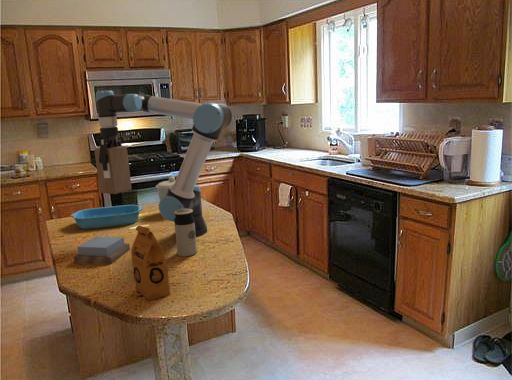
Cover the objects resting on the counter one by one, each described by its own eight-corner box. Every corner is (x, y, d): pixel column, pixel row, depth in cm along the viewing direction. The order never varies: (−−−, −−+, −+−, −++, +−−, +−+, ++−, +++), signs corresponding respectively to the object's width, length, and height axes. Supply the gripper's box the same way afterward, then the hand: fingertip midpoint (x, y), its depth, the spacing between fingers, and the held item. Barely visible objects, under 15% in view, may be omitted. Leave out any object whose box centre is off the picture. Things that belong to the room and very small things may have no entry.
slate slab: (124, 245, 179) (123, 237, 178) (107, 256, 166) (106, 247, 166) (97, 244, 182) (96, 236, 181) (78, 255, 169) (77, 246, 168)
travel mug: (173, 253, 173) (169, 211, 170) (190, 248, 178) (186, 207, 175) (183, 258, 167) (179, 214, 164) (200, 253, 172) (197, 210, 169)
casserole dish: (144, 214, 241) (143, 202, 240) (145, 224, 220) (143, 211, 218) (75, 222, 232) (73, 209, 230) (69, 233, 211) (67, 219, 209)
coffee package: (144, 304, 130) (136, 236, 126) (132, 290, 141) (124, 227, 136) (174, 294, 135) (168, 229, 131) (161, 282, 146) (154, 221, 141)
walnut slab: (130, 251, 181) (129, 243, 180) (112, 265, 166) (110, 257, 165) (95, 251, 184) (94, 243, 183) (74, 265, 168) (73, 256, 168)
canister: (181, 207, 252) (177, 172, 247) (197, 212, 238) (193, 175, 233) (153, 213, 240) (149, 177, 236) (168, 219, 227) (164, 180, 222)
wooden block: (117, 188, 198) (111, 146, 194) (132, 189, 193) (126, 146, 189) (99, 193, 189) (93, 148, 185) (115, 194, 184) (109, 148, 180)
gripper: (114, 125, 197) (119, 171, 202) (85, 129, 174) (92, 180, 178) (129, 124, 196) (134, 170, 200) (102, 128, 173) (108, 180, 177)
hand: (114, 175), depth 189 cm, fingers closed on wooden block, 12 cm apart
